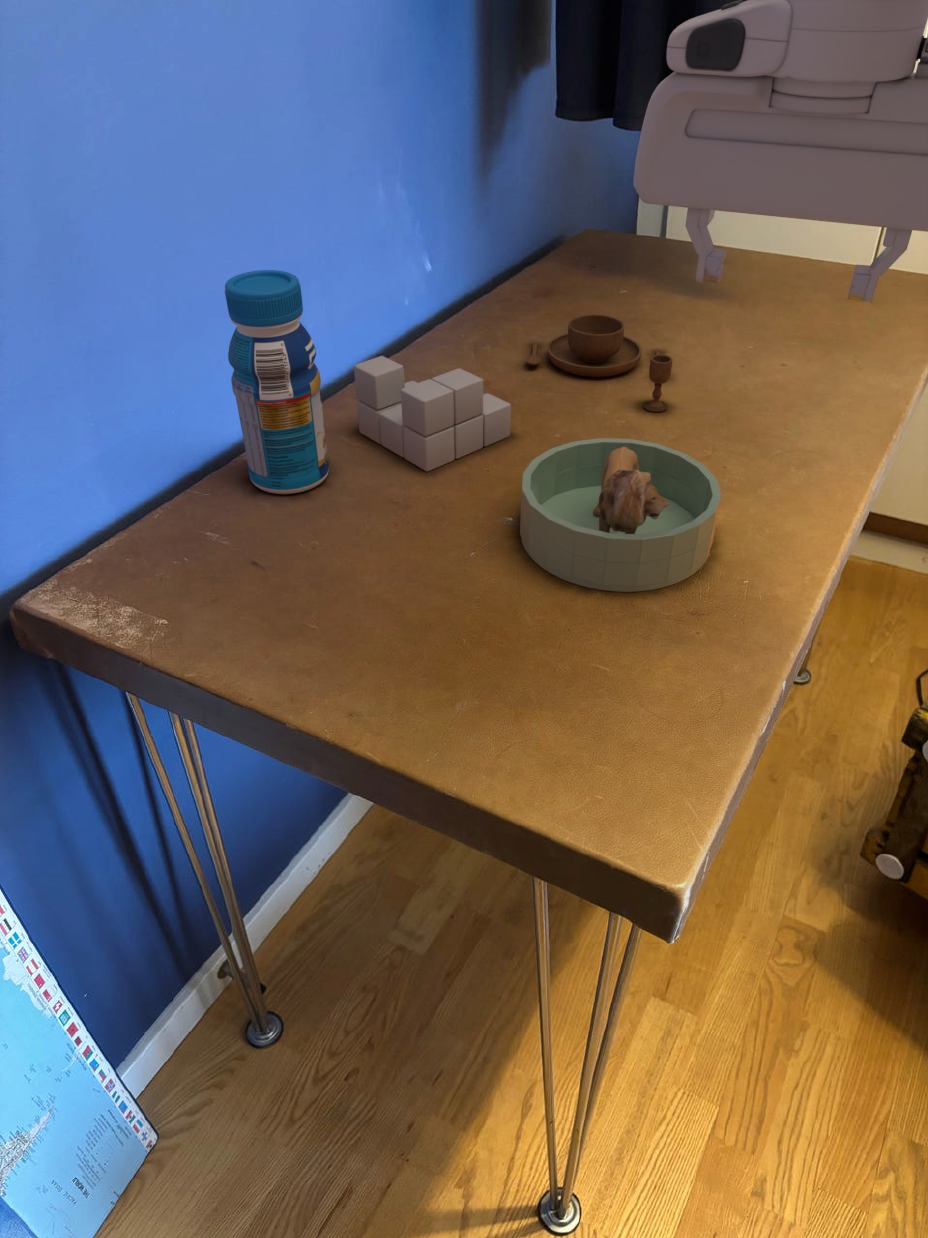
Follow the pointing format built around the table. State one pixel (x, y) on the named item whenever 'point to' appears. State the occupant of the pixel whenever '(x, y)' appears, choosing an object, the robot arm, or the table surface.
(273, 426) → the beverage bottle
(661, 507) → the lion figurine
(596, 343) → the place setting
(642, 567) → the bowl
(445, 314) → the table surface
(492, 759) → the table surface
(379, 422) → the puzzle cube
